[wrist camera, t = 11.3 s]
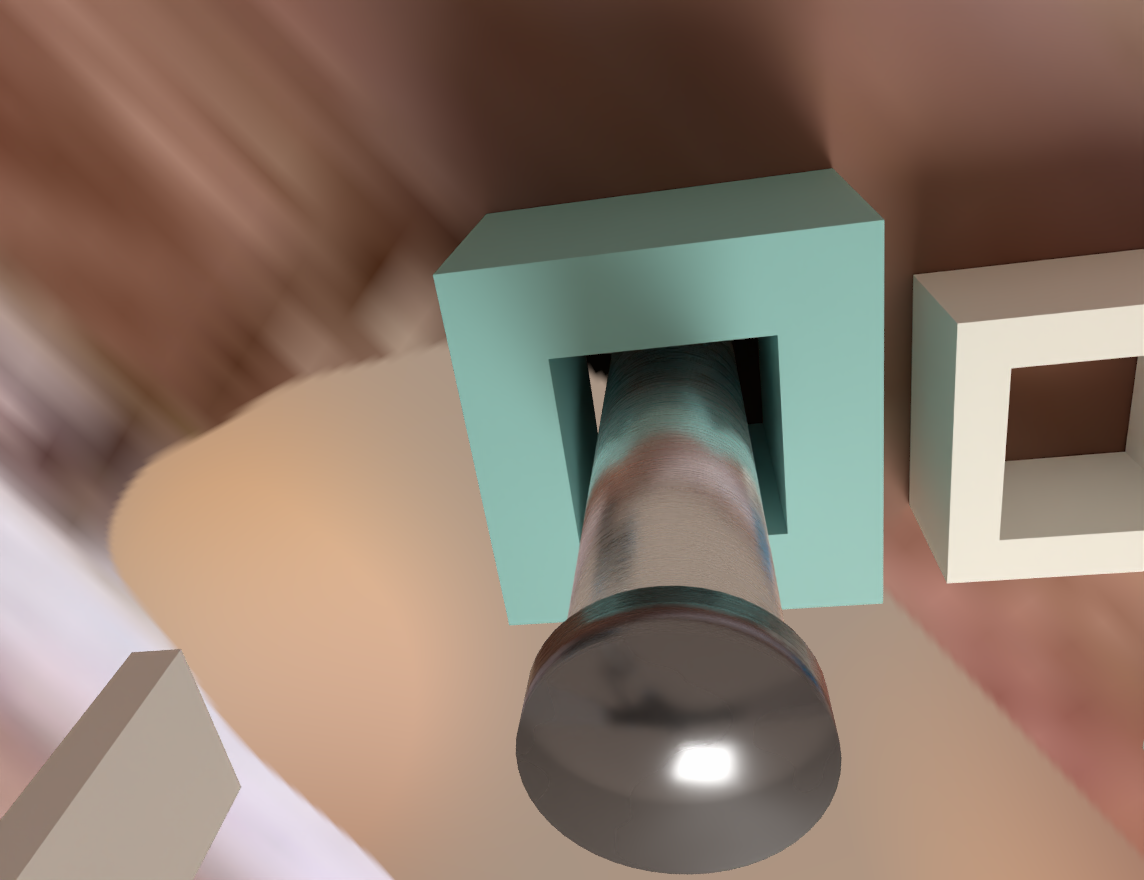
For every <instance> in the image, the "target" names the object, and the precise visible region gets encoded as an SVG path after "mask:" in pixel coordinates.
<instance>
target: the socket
mask: <svg viewBox="0 0 1144 880" xmlns="http://www.w3.org/2000/svg"><path fill="white" fill-rule="evenodd" d="M433 278H434V282H435V287H436V291H437V296H438V301H439V305H440V310H441V314H442V319H443V324H444V328H445V333H446V337H447V342H448V346H449V350H450V356H451V360H452V365H453V369H454V374H455V378H456V383H457V388H458V392H459V397H460V401H461V406H462V410H463V415H464V420H465V424H466V429H467V433H468V438H469V443H470V447H471V452H472V455H473V461H474V465H475V470H476V475H477V479H478V484H479V488H480V493H481V498H482V502H483V507H484V511H485V516H486V520H487V525H488V530H489V534H490V539H491V543H492V548H493V552H494V557H495V562H496V566H497V571H498V575H499V580H500V584H501V589H502V594H503V598H504V603H505V607H506V612H507V616H508V621H509V625H521V624H539V623H556V622H564V621H566V620H567V618H568V612H569V606H570V600H571V594H572V588H573V582H574V576H575V570H576V564H577V558H578V552H579V546H580V540H581V534H582V528H583V522H584V516H585V510H586V504H587V498H588V492H589V486H590V481H591V475H592V469H593V463H594V457H595V451H596V445H597V439H598V432H597V425H596V419H595V411H594V405H593V398H592V391H591V385H590V378H589V371H588V364H587V358H586V355H593V354H602V353H612V352H621V351H631V350H640V349H650V348H659V347H669V346H678V345H688V344H697V343H707V342H717V341H726V340H736V339H745V338H755V337H758V351H759V368H760V384H761V401H762V417H763V423H757V424H748V429H749V435H750V440H751V446H752V451H753V456H754V462H755V467H756V472H757V478H758V483H759V489H760V494H761V499H762V505H763V510H764V516H765V521H766V526H767V532H768V537H769V543H770V548H771V553H772V559H773V564H774V570H775V575H776V580H777V586H778V591H779V597H780V602H781V607H782V609H795V608H812V607H829V606H845V605H846V606H847V605H864V604H881V603H883V467H884V219H883V218H882V217H881V216H880V215H879V214H878V213H877V212H876V211H875V210H874V209H873V208H872V207H871V206H870V205H869V204H868V203H867V202H866V201H865V200H864V199H863V198H862V197H861V196H860V195H859V194H858V193H857V192H856V191H855V190H854V189H853V188H852V187H851V186H850V185H849V184H848V183H847V182H846V181H845V180H844V179H843V178H842V177H841V176H840V175H839V174H838V173H837V172H836V171H835V170H834V169H833V168H831V169H823V170H816V171H808V172H801V173H793V174H786V175H778V176H770V177H763V178H755V179H748V180H740V181H732V182H725V183H717V184H710V185H702V186H694V187H687V188H679V189H672V190H664V191H656V192H649V193H641V194H634V195H626V196H618V197H611V198H603V199H596V200H588V201H580V202H573V203H565V204H558V205H550V206H542V207H535V208H527V209H520V210H512V211H504V212H497V213H489V214H486V215H485V216H484V217H483V218H482V219H481V221H480V222H479V223H478V224H477V225H476V226H475V227H474V229H473V230H472V231H471V232H470V233H469V234H468V235H467V237H466V238H465V239H464V240H463V241H462V242H461V243H460V245H459V246H458V247H457V248H456V249H455V250H454V251H453V253H452V254H451V255H450V256H449V257H448V258H447V259H446V260H445V262H444V263H443V264H442V265H441V266H440V267H439V268H438V270H437V271H436V272H435V273H434V274H433Z"/></svg>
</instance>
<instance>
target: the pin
mask: <svg viewBox="0 0 1144 880" xmlns="http://www.w3.org/2000/svg"><path fill="white" fill-rule="evenodd" d="M516 757H517V764H518V770H519V773H520V776H521V779H522V782H523V785H524V787H525V789H526V791H527V793H528V795H529V797H530V799H531V800H532V801H533V803H534V804H535V806H536V807H537V808H538V810H539V812H540V813H541V814H542V815H543V816H544V817H545V818H546V819H547V820H548V821H549V822H550V823H551V825H553V826H554V827H555V828H556V829H557V830H558V831H560V832H561V833H562V834H563V835H564V836H566V837H567V838H569V839H570V840H572V841H573V842H575V843H576V844H578V845H579V846H581V847H583V848H585V849H586V850H588V851H590V852H592V853H594V854H596V855H598V856H601V857H603V858H606V859H608V860H610V861H613V862H616V863H619V864H622V865H625V866H629V867H632V868H637V869H642V870H646V871H651V872H659V873H668V874H704V873H714V872H721V871H727V870H732V869H736V868H740V867H744V866H748V865H750V864H753V863H756V862H758V861H761V860H764V859H766V858H768V857H770V856H772V855H775V854H777V853H779V852H781V851H782V850H784V849H785V848H787V847H789V846H790V845H792V844H793V843H795V842H796V841H797V840H799V839H800V838H801V837H802V836H804V835H805V834H806V833H807V832H808V831H809V830H810V829H811V828H812V827H813V826H814V825H815V824H816V822H818V821H819V819H820V818H821V817H822V815H823V814H824V812H825V811H826V809H827V808H828V806H829V805H830V803H831V801H832V798H833V796H834V794H835V792H836V789H837V785H838V781H839V777H840V771H841V751H840V743H839V738H838V733H837V729H836V725H835V720H834V716H833V712H832V707H831V703H830V699H829V695H828V690H827V686H826V683H825V679H824V676H823V673H822V670H821V668H820V666H819V664H818V662H817V660H816V658H815V656H814V655H813V653H812V652H811V651H810V649H809V648H808V646H807V645H806V644H805V642H804V641H803V640H802V639H801V638H800V637H799V636H798V635H797V634H796V633H795V632H794V630H793V629H791V628H790V627H789V626H788V625H786V624H785V623H784V618H783V613H782V607H781V602H780V597H779V591H778V586H777V580H776V575H775V570H774V564H773V559H772V553H771V548H770V543H769V537H768V532H767V526H766V521H765V516H764V510H763V505H762V499H761V494H760V489H759V483H758V478H757V472H756V467H755V462H754V456H753V451H752V446H751V440H750V435H749V429H748V424H747V419H746V413H745V408H744V402H743V397H742V392H741V386H740V381H739V375H738V370H737V365H736V359H735V354H734V348H733V343H732V340H726V341H717V342H707V343H697V344H688V345H678V346H669V347H659V348H650V349H640V350H631V351H621V352H612V355H611V361H610V367H609V373H608V379H607V385H606V391H605V397H604V403H603V409H602V415H601V421H600V427H599V433H598V439H597V445H596V451H595V457H594V463H593V469H592V475H591V481H590V486H589V492H588V498H587V504H586V510H585V516H584V522H583V528H582V534H581V540H580V546H579V552H578V558H577V564H576V570H575V576H574V582H573V588H572V594H571V600H570V606H569V612H568V618H567V620H566V621H564V622H563V623H562V624H561V625H560V626H559V627H558V628H557V629H556V630H555V631H554V632H553V633H552V634H551V635H550V637H549V638H548V639H547V640H546V641H545V643H544V644H543V646H542V648H541V649H540V651H539V653H538V654H537V656H536V658H535V661H534V663H533V666H532V669H531V671H530V675H529V680H528V685H527V690H526V694H525V699H524V704H523V709H522V714H521V719H520V723H519V728H518V733H517V738H516Z"/></svg>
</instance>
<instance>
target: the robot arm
mask: <svg viewBox="0 0 1144 880" xmlns="http://www.w3.org/2000/svg"><path fill="white" fill-rule="evenodd" d="M1143 749H1144V743H1143ZM240 788H241V786H240V783H239V781H238V779H237V776H236V774H235V772H234V769H233V767H232V765H231V763H230V760H229V758H228V756H227V753H226V751H225V749H224V747H223V744H222V742H221V740H220V737H219V735H218V733H217V731H216V728H215V726H214V724H213V721H212V719H211V717H210V714H209V712H208V710H207V708H206V705H205V703H204V701H203V698H202V696H201V694H200V692H199V689H198V687H197V685H196V682H195V680H194V678H193V675H192V673H191V671H190V669H189V666H188V664H187V662H186V660H185V657H184V655H183V653H182V650H181V649H177V650H162V651H147V652H132V653H131V654H130V656H129V657H128V658H127V659H126V661H125V662H124V663H123V665H122V666H121V667H120V668H119V670H118V671H117V672H116V673H115V675H114V676H113V677H112V679H111V680H110V681H109V682H108V684H107V685H106V686H105V687H104V689H103V690H102V691H101V693H100V694H99V695H98V696H97V698H96V699H95V700H94V701H93V703H92V704H91V705H90V707H89V708H88V709H87V710H86V712H85V713H84V714H83V715H82V717H81V718H80V719H79V721H78V722H77V723H76V724H75V726H74V727H73V728H72V729H71V731H70V732H69V733H68V735H67V736H66V737H65V738H64V740H63V741H62V742H61V743H60V745H59V746H58V747H57V749H56V750H55V751H54V752H53V754H52V755H51V756H50V757H49V759H48V760H47V761H46V763H45V764H44V765H43V766H42V768H41V769H40V770H39V771H38V773H37V774H36V775H35V777H34V778H33V779H32V780H31V782H30V783H29V784H28V785H27V787H26V788H25V789H24V791H23V792H22V793H21V794H20V796H19V797H18V798H17V799H16V801H15V802H14V803H13V805H12V806H11V807H10V808H9V810H8V811H7V812H6V813H5V815H4V816H3V817H2V819H1V820H0V880H193V879H194V877H195V875H196V873H197V872H198V870H199V868H200V866H201V864H202V862H203V860H204V858H205V856H206V854H207V852H208V850H209V848H210V846H211V844H212V842H213V841H214V839H215V837H216V835H217V833H218V831H219V829H220V827H221V825H222V823H223V821H224V819H225V817H226V815H227V813H228V812H229V810H230V808H231V806H232V804H233V802H234V800H235V798H236V796H237V794H238V792H239V790H240Z"/></svg>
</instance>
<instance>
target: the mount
mask: <svg viewBox="0 0 1144 880" xmlns="http://www.w3.org/2000/svg"><path fill="white" fill-rule="evenodd" d="M1135 356H1138V359H1137V367H1136V374H1135V382H1134V389H1133V397H1132V404H1131V412H1130V419H1129V427H1128V434H1127V442H1126V449H1125V452H1115V453H1102V454H1090V455H1077V456H1065V457H1052V458H1040V459H1028V460H1015V461H1005V452H1006V438H1007V423H1008V409H1009V394H1010V380H1011V368H1020V367H1030V366H1041V365H1051V364H1061V363H1072V362H1082V361H1093V360H1103V359H1114V358H1124V357H1135ZM909 505H910V507H911V509H912V511H913V513H914V516H915V518H916V520H917V522H918V524H919V526H920V528H921V530H922V532H923V534H924V536H925V538H926V540H927V543H928V545H929V547H930V549H931V551H932V553H933V555H934V557H935V559H936V561H937V563H938V565H939V568H940V570H941V572H942V574H943V576H944V578H945V580H946V582H947V583H961V582H977V581H993V580H1010V579H1026V578H1042V577H1059V576H1075V575H1091V574H1108V573H1124V572H1140V571H1144V249H1139V250H1130V251H1121V252H1112V253H1103V254H1094V255H1085V256H1076V257H1067V258H1059V259H1050V260H1041V261H1032V262H1023V263H1014V264H1005V265H996V266H987V267H978V268H970V269H961V270H952V271H943V272H934V273H925V274H916V275H913V321H912V377H911V434H910V490H909Z"/></svg>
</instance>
